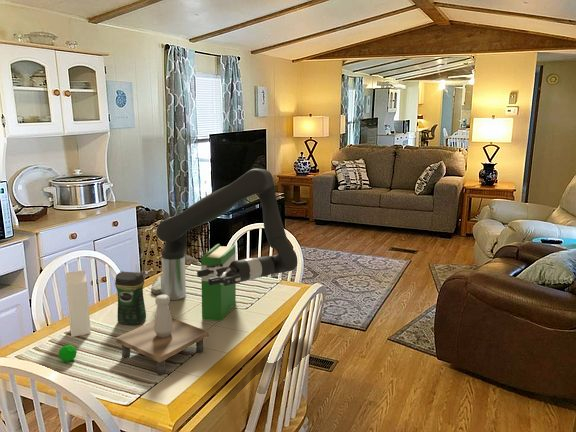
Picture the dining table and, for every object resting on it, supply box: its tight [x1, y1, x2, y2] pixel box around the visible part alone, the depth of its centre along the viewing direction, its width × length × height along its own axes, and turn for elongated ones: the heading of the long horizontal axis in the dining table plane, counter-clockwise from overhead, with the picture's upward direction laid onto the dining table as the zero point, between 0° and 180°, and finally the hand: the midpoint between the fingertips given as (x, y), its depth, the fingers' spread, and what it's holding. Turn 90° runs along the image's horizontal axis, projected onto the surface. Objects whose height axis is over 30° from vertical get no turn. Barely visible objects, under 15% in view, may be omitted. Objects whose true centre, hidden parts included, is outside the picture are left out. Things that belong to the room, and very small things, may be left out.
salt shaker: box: [154, 294, 173, 338], centre depth 146 cm, size 6×6×13 cm
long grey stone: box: [150, 274, 161, 295], centre depth 211 cm, size 35×5×10 cm
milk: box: [65, 269, 92, 338], centre depth 159 cm, size 6×6×22 cm
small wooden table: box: [115, 317, 209, 376], centre depth 148 cm, size 20×20×6 cm
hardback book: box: [200, 243, 237, 322], centre depth 179 cm, size 18×7×24 cm, turn 169°
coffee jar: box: [114, 270, 147, 326], centre depth 169 cm, size 10×8×19 cm
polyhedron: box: [58, 344, 78, 363], centre depth 143 cm, size 5×5×5 cm
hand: (203, 278), depth 154 cm, fingers open, 8 cm apart
